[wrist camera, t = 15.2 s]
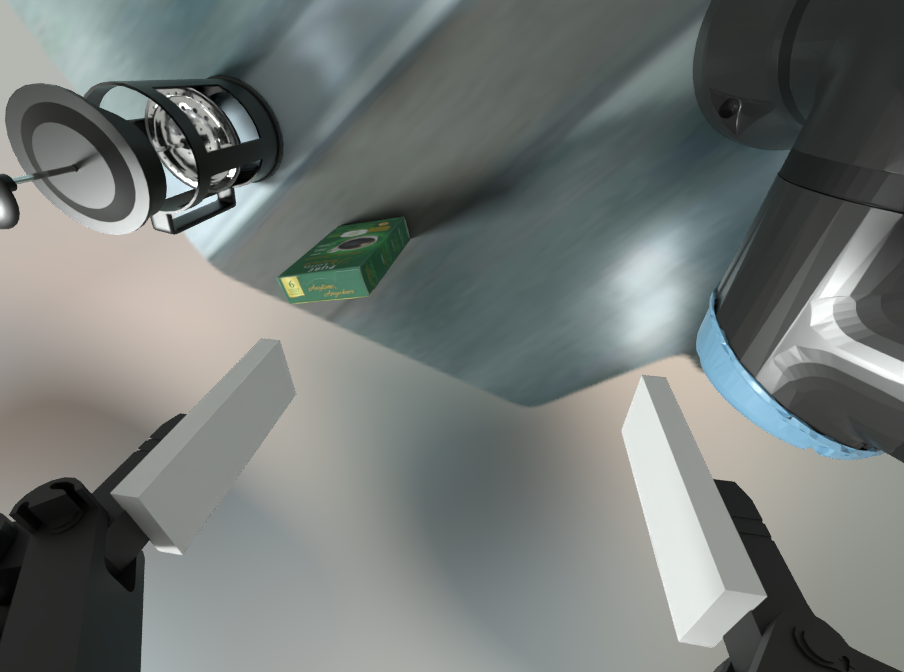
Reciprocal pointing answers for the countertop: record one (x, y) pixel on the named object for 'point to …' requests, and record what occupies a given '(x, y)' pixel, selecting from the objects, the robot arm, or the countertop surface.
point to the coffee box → (346, 262)
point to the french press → (136, 152)
